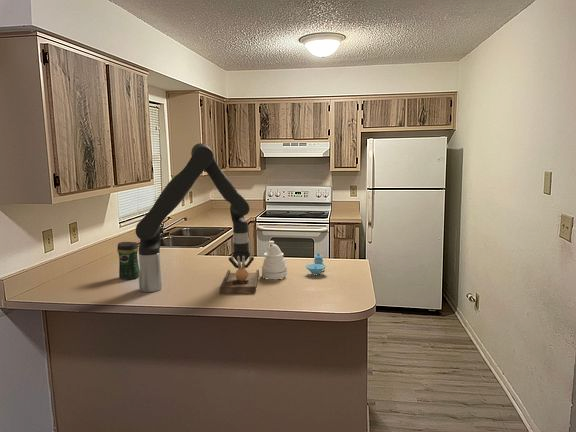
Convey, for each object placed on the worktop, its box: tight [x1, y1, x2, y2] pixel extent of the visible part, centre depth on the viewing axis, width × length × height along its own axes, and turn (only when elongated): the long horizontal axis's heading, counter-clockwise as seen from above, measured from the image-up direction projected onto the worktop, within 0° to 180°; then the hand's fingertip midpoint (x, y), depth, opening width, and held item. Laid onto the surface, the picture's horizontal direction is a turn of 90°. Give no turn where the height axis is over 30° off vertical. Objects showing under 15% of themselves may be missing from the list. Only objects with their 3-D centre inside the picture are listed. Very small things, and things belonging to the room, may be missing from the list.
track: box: [219, 269, 260, 294], centre depth 211 cm, size 16×28×3 cm, turn 1°
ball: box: [235, 267, 249, 281], centre depth 211 cm, size 6×6×6 cm
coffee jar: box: [117, 241, 140, 280], centre depth 222 cm, size 10×8×19 cm
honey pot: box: [261, 240, 288, 279], centre depth 222 cm, size 13×13×18 cm
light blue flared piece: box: [305, 252, 327, 275], centre depth 229 cm, size 18×10×9 cm, turn 167°
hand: (241, 275), depth 215 cm, fingers closed
